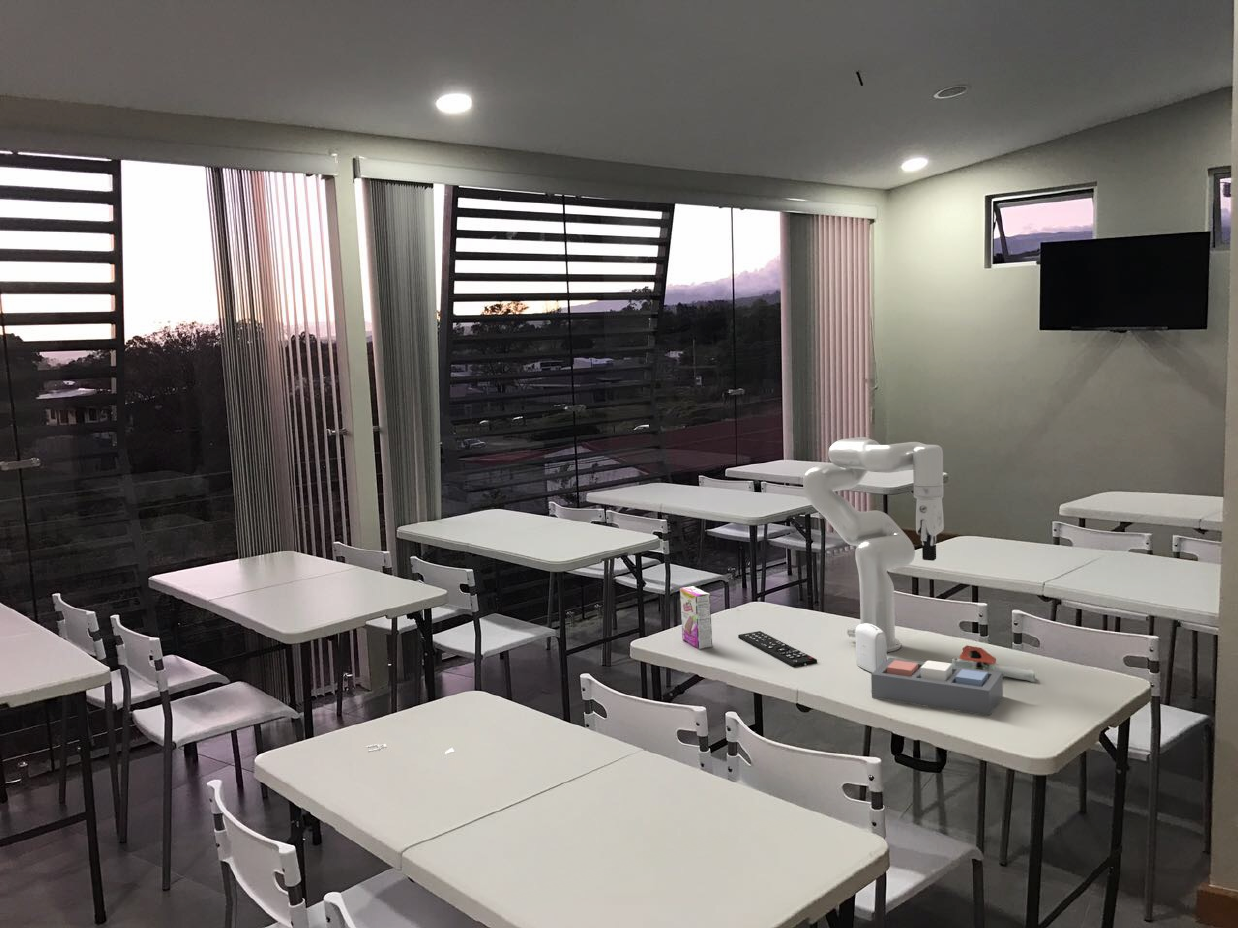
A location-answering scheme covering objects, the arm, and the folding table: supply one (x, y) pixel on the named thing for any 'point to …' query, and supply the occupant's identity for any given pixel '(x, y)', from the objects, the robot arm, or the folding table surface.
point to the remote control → (777, 649)
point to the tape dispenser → (989, 664)
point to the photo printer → (870, 647)
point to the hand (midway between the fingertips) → (929, 559)
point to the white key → (936, 671)
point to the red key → (902, 668)
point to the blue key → (972, 677)
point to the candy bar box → (696, 617)
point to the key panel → (938, 690)
